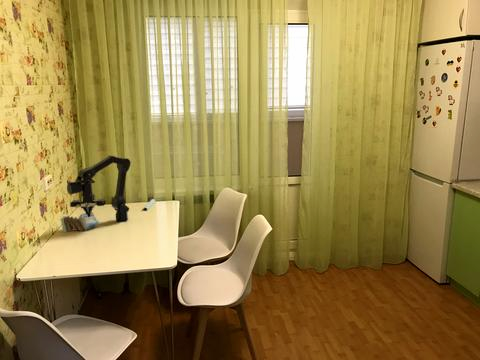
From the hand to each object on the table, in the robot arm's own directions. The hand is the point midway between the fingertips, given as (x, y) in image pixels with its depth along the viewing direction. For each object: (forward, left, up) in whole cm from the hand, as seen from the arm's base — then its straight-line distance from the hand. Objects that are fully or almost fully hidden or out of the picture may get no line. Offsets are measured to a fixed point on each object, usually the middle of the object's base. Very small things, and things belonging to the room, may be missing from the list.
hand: (89, 217), depth 231 cm
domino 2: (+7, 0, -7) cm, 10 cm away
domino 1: (+4, 0, -7) cm, 8 cm away
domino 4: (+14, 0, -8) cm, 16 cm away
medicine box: (-1, 0, -6) cm, 6 cm away
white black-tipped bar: (-27, -45, -8) cm, 53 cm away
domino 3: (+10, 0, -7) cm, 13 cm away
